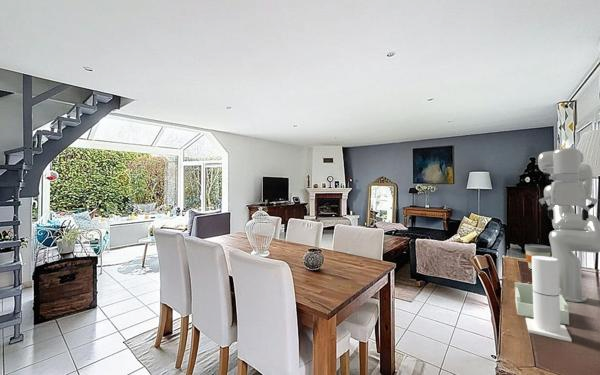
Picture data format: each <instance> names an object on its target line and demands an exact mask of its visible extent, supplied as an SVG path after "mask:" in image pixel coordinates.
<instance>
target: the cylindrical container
mask: <svg viewBox="0 0 600 375" xmlns="http://www.w3.org/2000/svg"><path fill="white" fill-rule="evenodd" d="M531 276H532V278H531V279H532V280H531V281H532V282H531V283H532V285H533V313H534V318H533V319H534V325H535V326H536V327H537V328H539V329H542V330H545V331H549V332H560V331H561V327H560V325H561V323H560V300H559V272H558V259H556V258H552V256H551V257H546V256H532V270H531Z"/></svg>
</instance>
